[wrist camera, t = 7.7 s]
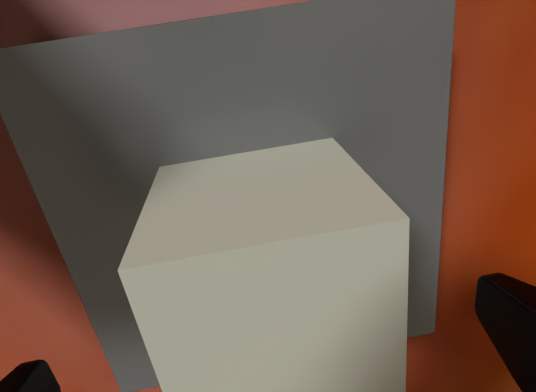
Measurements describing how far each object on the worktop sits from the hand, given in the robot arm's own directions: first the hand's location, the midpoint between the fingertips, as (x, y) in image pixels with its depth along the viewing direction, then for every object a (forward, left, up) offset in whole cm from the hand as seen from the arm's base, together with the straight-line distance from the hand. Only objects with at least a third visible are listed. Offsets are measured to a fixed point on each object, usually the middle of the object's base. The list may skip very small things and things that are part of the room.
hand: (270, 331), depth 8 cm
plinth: (0, 0, -8) cm, 8 cm away
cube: (0, 0, -4) cm, 5 cm away
